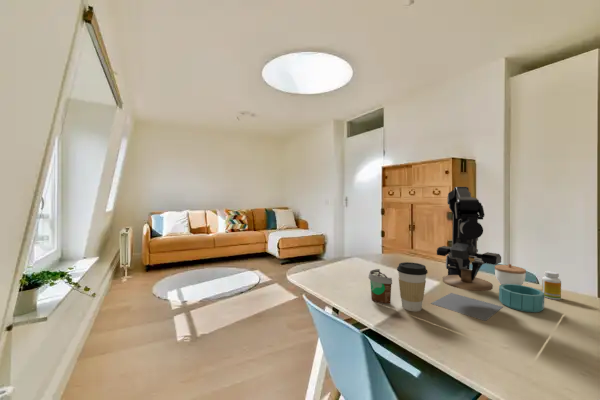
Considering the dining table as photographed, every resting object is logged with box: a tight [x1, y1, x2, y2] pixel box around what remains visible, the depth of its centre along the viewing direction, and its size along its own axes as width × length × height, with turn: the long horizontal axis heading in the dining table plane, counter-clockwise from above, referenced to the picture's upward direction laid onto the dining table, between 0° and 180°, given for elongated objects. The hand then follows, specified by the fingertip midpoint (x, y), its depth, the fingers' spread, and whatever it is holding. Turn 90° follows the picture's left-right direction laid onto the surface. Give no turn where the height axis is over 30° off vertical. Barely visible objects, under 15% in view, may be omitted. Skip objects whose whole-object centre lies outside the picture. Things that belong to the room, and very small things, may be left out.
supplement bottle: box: [541, 270, 562, 301], centre depth 104 cm, size 5×5×10 cm
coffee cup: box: [396, 261, 429, 312], centre depth 93 cm, size 10×10×15 cm
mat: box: [430, 292, 503, 322], centre depth 95 cm, size 17×17×1 cm
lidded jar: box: [494, 263, 527, 285], centre depth 117 cm, size 11×11×9 cm
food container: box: [368, 268, 393, 305], centre depth 101 cm, size 12×6×10 cm, turn 5°
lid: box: [442, 268, 494, 292], centre depth 95 cm, size 15×15×5 cm
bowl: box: [498, 283, 545, 313], centre depth 95 cm, size 12×12×6 cm
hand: (466, 278), depth 95 cm, fingers closed on lid, 3 cm apart
